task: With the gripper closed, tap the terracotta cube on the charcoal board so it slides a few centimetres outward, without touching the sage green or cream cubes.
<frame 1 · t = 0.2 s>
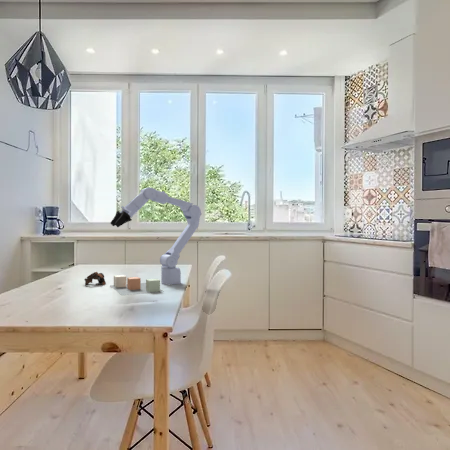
hand: (113, 225, 178), 31 cm above the table, tool tilted 45°, fingers open, 7 cm apart
sage cube: (153, 290, 172), point 1 cm above the table, touching board
terracotta cube: (133, 288, 177), point 1 cm above the table, touching board
board: (136, 290, 177), on the table
pottery mug: (96, 286, 189), on the table
cream cube: (120, 286, 183), point 1 cm above the table, touching board
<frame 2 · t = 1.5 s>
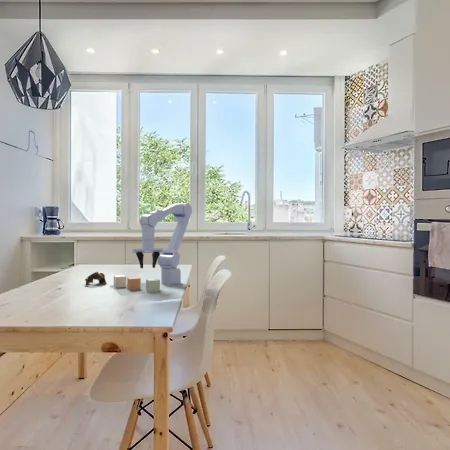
hand: (147, 267, 179), 10 cm above the table, tool pointing down, fingers open, 5 cm apart
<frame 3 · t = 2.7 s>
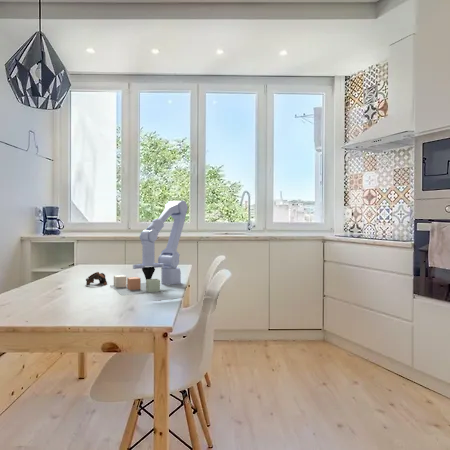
hand: (148, 283, 180), 3 cm above the table, tool pointing down, fingers closed
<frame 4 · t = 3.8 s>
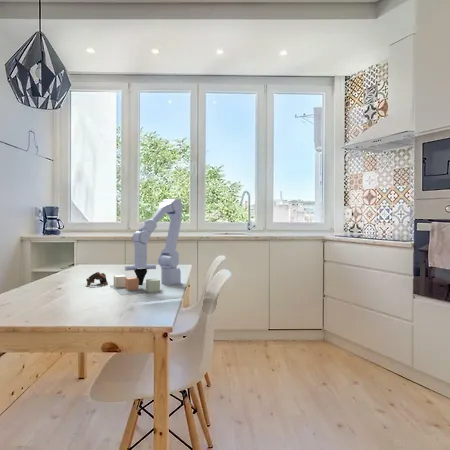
hand: (140, 285, 178), 2 cm above the table, tool pointing down, fingers closed
terracotta cube: (132, 288, 176), point 1 cm above the table, touching gripper
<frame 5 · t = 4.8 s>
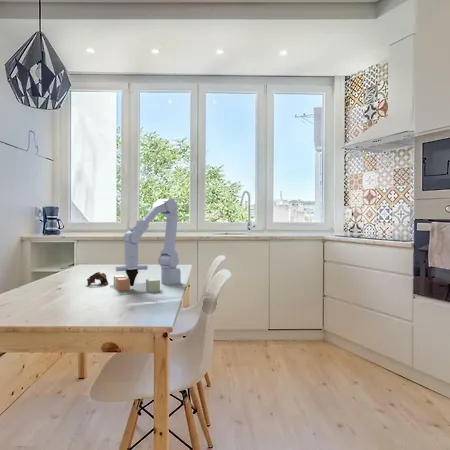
hand: (131, 285, 176), 2 cm above the table, tool pointing down, fingers closed
terracotta cube: (123, 289, 174), point 1 cm above the table, touching board, gripper
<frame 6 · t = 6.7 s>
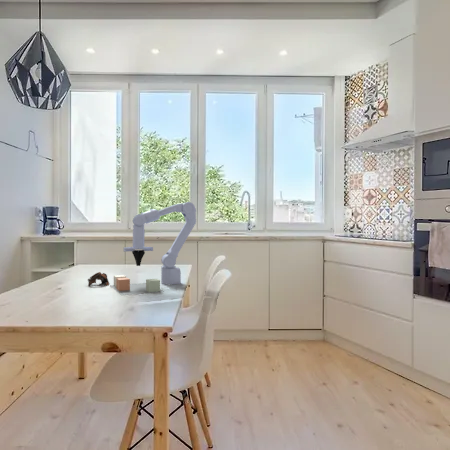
hand: (138, 265, 188), 10 cm above the table, tool pointing down, fingers closed
terracotta cube: (123, 289, 174), point 1 cm above the table, touching board
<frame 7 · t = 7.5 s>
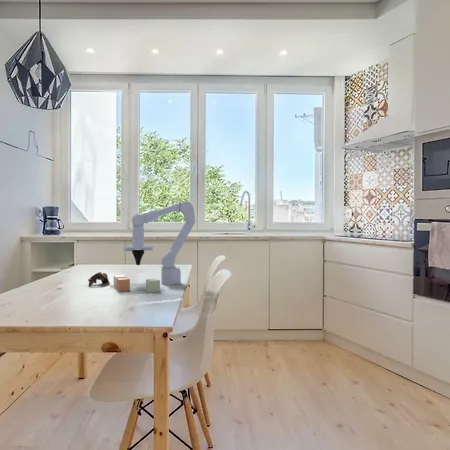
hand: (138, 264, 191), 10 cm above the table, tool pointing down, fingers closed
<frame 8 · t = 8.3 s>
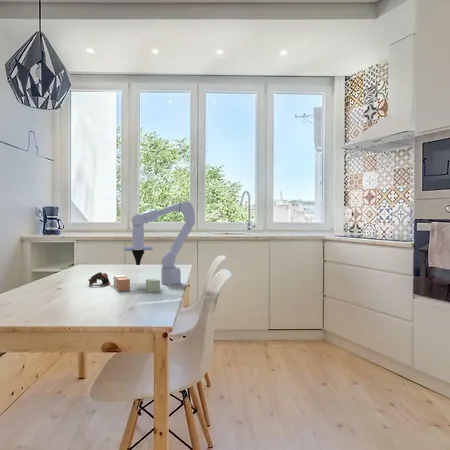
hand: (138, 264, 191), 10 cm above the table, tool pointing down, fingers closed
at the end: terracotta cube moved 5.0 cm from its start; sage cube moved 0.0 cm from its start; cream cube moved 0.0 cm from its start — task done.
